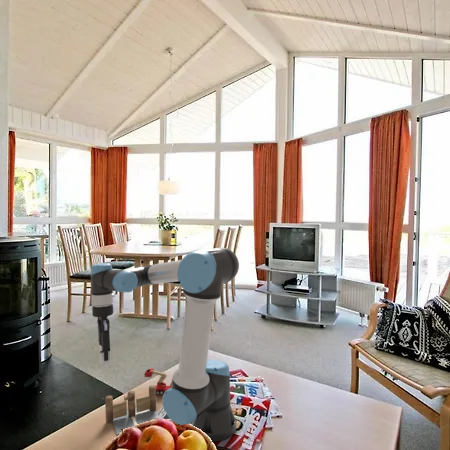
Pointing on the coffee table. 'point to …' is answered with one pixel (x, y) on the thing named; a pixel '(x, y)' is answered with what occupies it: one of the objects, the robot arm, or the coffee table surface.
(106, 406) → the fence flap
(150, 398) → the fence fixed
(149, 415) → the board
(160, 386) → the toy fire truck
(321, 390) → the coffee table surface
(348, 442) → the coffee table surface
